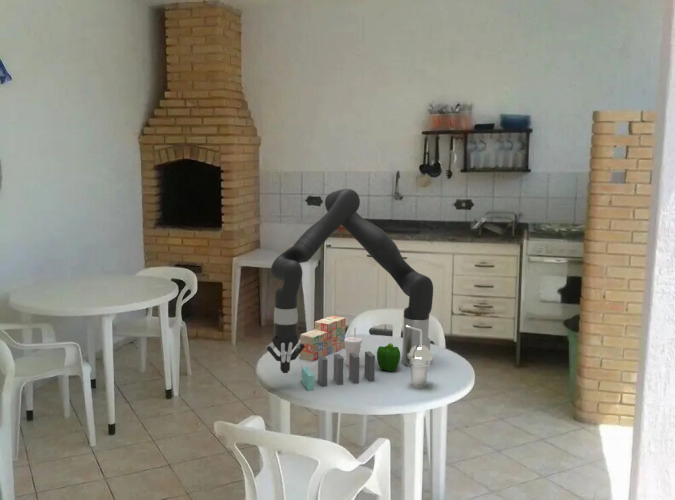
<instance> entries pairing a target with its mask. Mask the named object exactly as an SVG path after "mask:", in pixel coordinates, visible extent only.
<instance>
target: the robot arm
mask: <svg viewBox="0 0 675 500" xmlns="http://www.w3.org/2000/svg"><path fill="white" fill-rule="evenodd" d="M360 204H361V200H360V196H359V194H358V193H357V191H356V190H354V189H351V188H342V189H339V190H335V191H332V192H330V193H328V195H327V196H326V197H325V200H324V207H325V210H326V211H327V212H326V213H325V214H324V215H323V216H322V217H321V218H320V219H319V220H318V221H316V222H315V223H313V224H312V225H311V226H310V227H309V228H308V229H307V230H305V232H304V233H303V234H302V235H301V236H300V237H299V238H298V239H297V240H296V242H295V243H294V244H293V245H292V246H291V247H290V248H288V249H286V250H285V251H284V252H283V253H280V254H279V256H277V257H276V259H274V260H273V262H272V264H271V268H270V273H271V275H272V277H273V278H274V279H276V280H279V281H283V285H282V287H280V288H278V289H276V291H275V294H274V312H273V337H272V340H271V342H270V343H269V344H266V345H265V348H266V350H267V351H268V352H269V353H270V355H271V356H272V357H273V358H274V359H275V360H276V361H277V362H279V363H280V368H279V369H280V371H281V372H282V373H283V374H289V372H290V369H291V361H295V360H296V359H297V358H298V357H299V356H300V352H301V351H302V350H303V349H304V347H305V345H304V344H303V343H301V342H300V340H299V339H300V338H298V321H299V318H298V314H299V313H298V293H299V290H300V286H301V282H302V278H303V267H302V265H301V264H302V263H307V262H309V260H311V259H312V258H313V257H314V255H315V254H316V253H317V252H318V250H319V249H320V248H321V246H322V245H324V243H325V242H326V241H327V240H328V239H329V237H330V236H331V235H333V233H334V232H335V231H336V230H337V229H338V228H339V227H340V226H342V227H343V228H344V229H345V230H346V231H348V233H349V234H350V235H351V236H352V237H353V238H354V239H355V241H357V242H358V244H360V246H362V248H364V250H365V251H366V252H367V253H368V254H369V256H370V257H371V258H372V259H373V260H374V261H375V262H376V263H377V264H378V265H380V267H382V269H384V270H385V271H386V272H387V273H388V274H389V275H390V276H391V277H392V278H393V280H394V281H395V282H396V285H398V287H399V288H400V289H401V291H402V292H403V293H404V294H405V295H406V297H407V296H408V298H409V299H408V306H407V307H405V308H404V309H403V320H402V321H403V322H402V323H403V324H402V327H403V328H402V345H401V346H402V350H401V352H402V353H401V363H402V364H403V365H405V366H408V367H411V366H410V362H409V358H408V357H407V355H408V353H409V352H410V350H411V348H412V347H413V346H415V345H418V344H420V331H418V330H414V329H410V328H407V327H406V325H407V326H411V327H415V328H419V329H421V330H422V345H425V346H426V347H427V348H428V349H429V350H430V351H431V338H430V337H429V329H430V313H431V312H432V308H433V299H434V284H433V281H432V279H431V278H430V277H428V276H426V275H425V274H422V273H419V271H418V272H417V271H416V270H415V269H414V268H413V267H411V266H410V264H408V263H407V262H406V260H405V259H404V258H403V256H402V254H401V252H400V249H399V248H398V246H397V245H396V243H395V242H394V241H393V240H392V238H391V237H390V236H389V235H388V234H387V233H386V231H384V230H383V229H382V228H380V227H378V226H377V225H375V224H374V223H372V222H371V221H368V220H366V219H365V218H364V217H362V216H361V215H360V214H359V213H358V212H357V211H358V209H360ZM295 347H296V348H295ZM275 348H276V350H277V351H278V352H279V353H278V354H279V355H278V354H277V353H276V352H275ZM292 351H293V352H292Z"/></svg>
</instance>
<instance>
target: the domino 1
mask: <svg viewBox="0 0 675 500" xmlns="http://www.w3.org/2000/svg"><path fill="white" fill-rule="evenodd" d="M301 382H302V384H303V385H304V386H305V388H306V390H307V391H314V390H315V389H314V386H315V385H314V382H315V375H314V374H313V373H312V371H311V370H310V369H309V367H308V366H301Z"/></svg>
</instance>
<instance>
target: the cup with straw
mask: <svg viewBox="0 0 675 500" xmlns="http://www.w3.org/2000/svg"><path fill="white" fill-rule="evenodd" d="M406 327H407V328H410V329H414V330H418V331H420V344H418V345H415V346H413V347H412V348H411V350H410V352H409V353H408V355H407V357H408V358H409V362H410V366H409V367H410V377H411V378H410V380H411V386H412V387H414V388H417V389H418V388H422V389H423V388H425V387H426V384H427V378H428V373H429V372H428V371H429V367H430V364H431V361H432V360H433V358H434V356H433V354H432V353H431V349H430V350H429V349H428V348H427V347H426V346H425V345H422V330H421V329H419V328H415V327H411V326H407V325H406Z"/></svg>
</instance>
